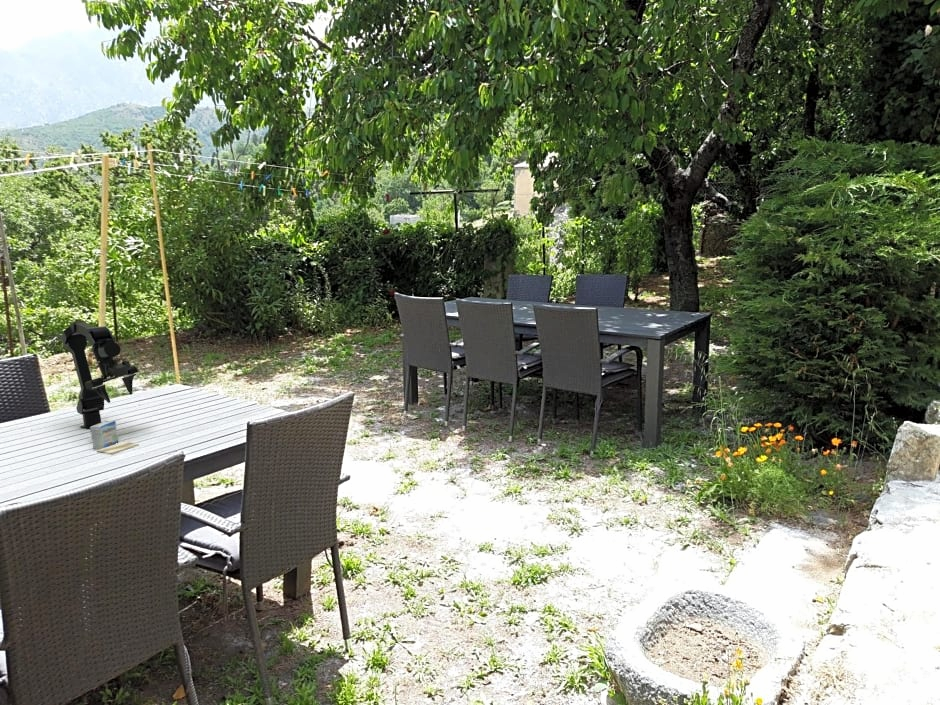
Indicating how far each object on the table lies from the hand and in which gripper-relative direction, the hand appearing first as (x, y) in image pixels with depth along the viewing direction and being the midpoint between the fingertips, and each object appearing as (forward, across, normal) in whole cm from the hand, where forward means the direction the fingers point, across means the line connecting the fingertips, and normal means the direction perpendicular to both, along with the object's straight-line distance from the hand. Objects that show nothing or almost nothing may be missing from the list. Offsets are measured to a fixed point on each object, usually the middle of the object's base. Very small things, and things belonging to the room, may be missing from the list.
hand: (120, 398), depth 264 cm
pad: (+16, -13, -10) cm, 23 cm away
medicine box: (+14, -13, -2) cm, 20 cm away
